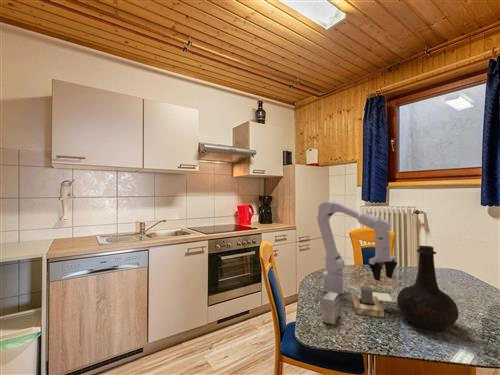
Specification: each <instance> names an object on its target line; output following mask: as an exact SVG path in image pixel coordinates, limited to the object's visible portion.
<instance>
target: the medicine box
mask: <svg viewBox="0 0 500 375" xmlns="http://www.w3.org/2000/svg"><path fill="white" fill-rule="evenodd" d="M321 303H322V305H321V306H322V307H321V309H322V310H321V311H322V322H323V323H327V324H331V325H336V323H337V321H338V319H339V317H340V294H339V293H333V292H326V293H325V295H324V296H323V297H322V299H321Z"/></svg>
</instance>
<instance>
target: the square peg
mask: <svg viewBox="0 0 500 375" xmlns="http://www.w3.org/2000/svg"><path fill="white" fill-rule="evenodd" d="M372 292H373V289H372V287H371V286H360V295H361V304H367V305H373V295H372Z"/></svg>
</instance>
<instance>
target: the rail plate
mask: <svg viewBox="0 0 500 375" xmlns="http://www.w3.org/2000/svg"><path fill="white" fill-rule="evenodd" d="M351 295H352V296H351V297H352V305H353V309H354V310H353V311H354V313H355V315H360V316H361V315H362V316H369V317H377V318H384V317H385V316H384V315H385V314H384V309H383V307H382V304H381V302H380V301H379V300H378V298H377V297H375V296H373V305H367V304H361V294H358V293H357V294H356V293H352V294H351Z"/></svg>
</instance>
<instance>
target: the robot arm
mask: <svg viewBox="0 0 500 375" xmlns="http://www.w3.org/2000/svg"><path fill="white" fill-rule="evenodd" d="M317 209H318V212H317V216H316V218H317V223H318V224H317V225H318V228H319V231H320V235H321V238H322V241H323V246H324V249H325V252H326V254H325V257H324V258H325V259H324V260H325V265H324V266H325V270H326V271H325V270H324V271H322V272H323V274H322V275H323V278H322V279H323V283H322V287H323V292H324V293H328V292H333V293H338V294H339V295H340V294H341V295H344V294H345V287H344V271H343V269H344V268H345V266H346V264H345V261H344V259H343V258H342V255H341V254H340V252H339V251H338V248H337V245H336V242H335V238H334V236H333V232H332V228H331V224H330V219H331V218H332V216H333V215H334V214H336V213H342V214H345V215H347V216H350V217H352V218H354V219H356V220H357V222H358V224H361V225H363V226H365V227H368V228H370V229H371V230H373V231H374V232H375V234H374V242H375V243H374V245H375V246H374V247H375V248H374V249H375V250H374V251H375V253H374V254H375V256H374V257H370V258H369V259H368V263H367V265H368V266H369V268H370V270H371V272H372V275H373V279H374V280H375V281H378V282H379V281H380V280H381V274H382V268H383V265H384V268H385V276H386V278H389V279H392V278H393V275H394V271H395V268H397V266H398V262H397V261H396V260H397V256H396V255H391V238H390V231H391V228H392V225H391V223H390V222H389V221H388V220H387V219H384V218H382V219H381V217H380V216H375V215H373V214H371V213H370V211H361V212H359V211H357V210H355V209H353V208H352V207H349V206H347V205H345V204H343V203H341V202H339V201H336V200H324V201H322V202H321V203H320V204H319V205H318V207H317ZM381 263H383V265H381Z"/></svg>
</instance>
